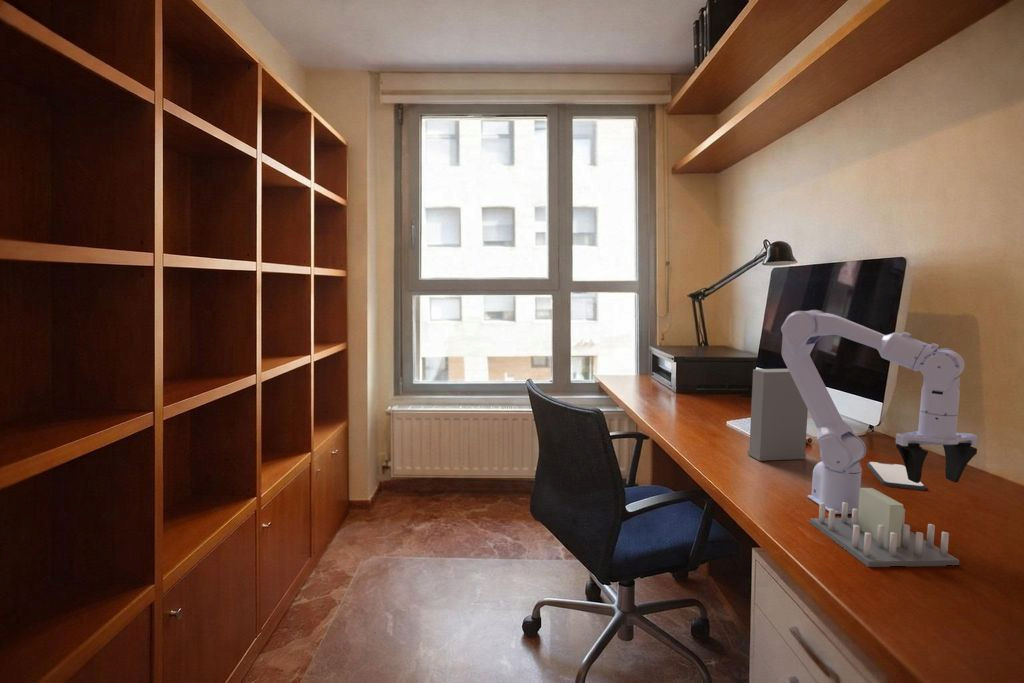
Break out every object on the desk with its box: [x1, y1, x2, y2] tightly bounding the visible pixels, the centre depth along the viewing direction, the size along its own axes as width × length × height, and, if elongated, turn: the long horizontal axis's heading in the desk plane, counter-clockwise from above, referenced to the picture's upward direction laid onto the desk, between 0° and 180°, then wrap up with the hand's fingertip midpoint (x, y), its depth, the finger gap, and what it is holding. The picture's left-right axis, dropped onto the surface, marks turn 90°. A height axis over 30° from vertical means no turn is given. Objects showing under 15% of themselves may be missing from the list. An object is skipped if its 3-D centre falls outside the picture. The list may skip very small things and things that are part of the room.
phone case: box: [866, 461, 927, 491], centre depth 133 cm, size 9×2×16 cm
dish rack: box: [809, 502, 960, 568], centre depth 99 cm, size 17×16×5 cm
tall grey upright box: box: [746, 368, 809, 462], centre depth 148 cm, size 14×6×25 cm, turn 97°
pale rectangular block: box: [858, 487, 904, 547], centre depth 99 cm, size 8×2×8 cm, turn 1°
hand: (932, 480), depth 102 cm, fingers open, 7 cm apart
